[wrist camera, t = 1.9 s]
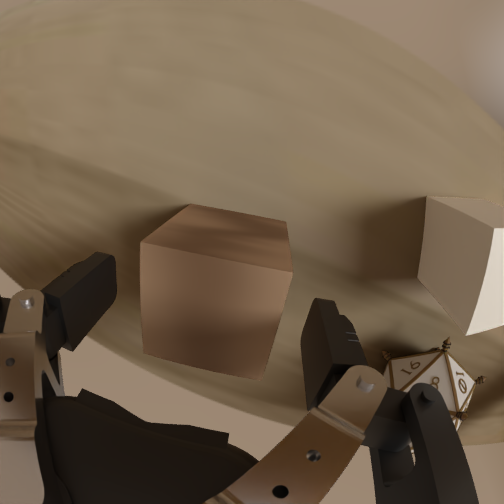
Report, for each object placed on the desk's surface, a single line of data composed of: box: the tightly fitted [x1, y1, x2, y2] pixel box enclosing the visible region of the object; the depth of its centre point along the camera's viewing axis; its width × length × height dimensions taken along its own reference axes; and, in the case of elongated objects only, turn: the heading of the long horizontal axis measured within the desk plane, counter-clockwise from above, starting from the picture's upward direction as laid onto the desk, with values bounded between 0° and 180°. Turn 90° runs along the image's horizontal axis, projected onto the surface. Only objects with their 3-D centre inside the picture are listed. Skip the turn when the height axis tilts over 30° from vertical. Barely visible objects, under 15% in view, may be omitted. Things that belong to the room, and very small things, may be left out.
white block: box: [417, 196, 504, 336], centre depth 11 cm, size 5×5×6 cm
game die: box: [382, 337, 487, 454], centre depth 13 cm, size 9×8×10 cm
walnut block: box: [140, 204, 293, 380], centre depth 12 cm, size 5×5×6 cm
